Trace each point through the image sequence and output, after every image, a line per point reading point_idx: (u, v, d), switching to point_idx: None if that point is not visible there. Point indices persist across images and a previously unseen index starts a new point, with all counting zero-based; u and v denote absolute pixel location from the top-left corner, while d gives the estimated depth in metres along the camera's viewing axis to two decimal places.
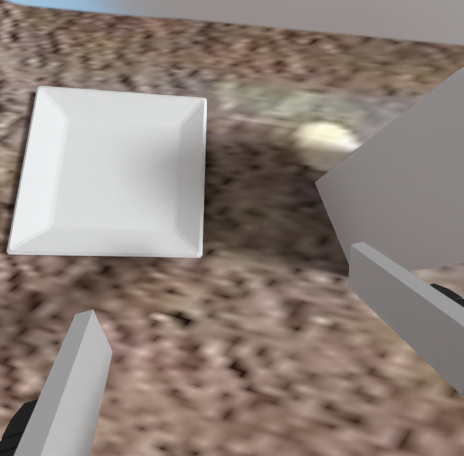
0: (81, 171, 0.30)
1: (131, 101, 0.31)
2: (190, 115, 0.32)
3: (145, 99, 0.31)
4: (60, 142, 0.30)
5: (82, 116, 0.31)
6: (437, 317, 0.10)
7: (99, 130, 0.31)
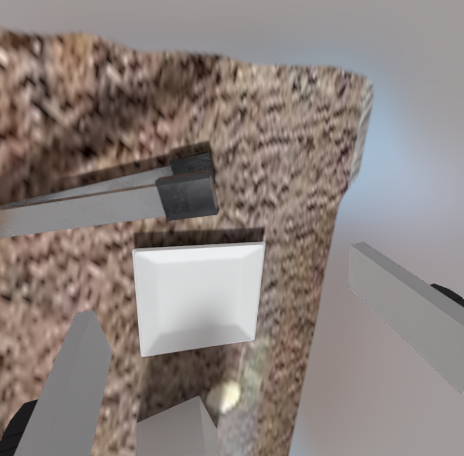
0: (201, 273, 0.41)
1: (252, 298, 0.44)
2: (243, 330, 0.46)
3: (253, 307, 0.44)
4: (222, 257, 0.41)
5: (243, 266, 0.42)
6: (437, 317, 0.10)
7: (232, 278, 0.42)
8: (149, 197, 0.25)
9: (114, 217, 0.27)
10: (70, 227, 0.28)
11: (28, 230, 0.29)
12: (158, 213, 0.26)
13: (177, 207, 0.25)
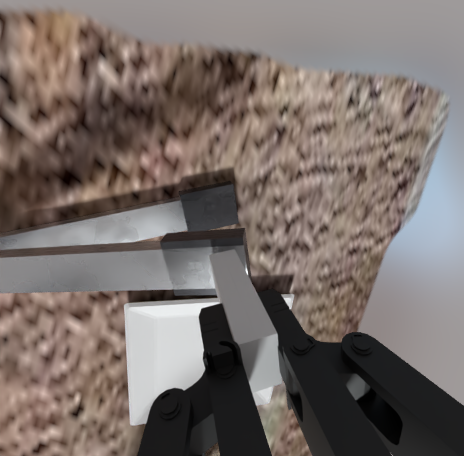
0: None
1: None
2: (256, 392, 0.38)
3: None
4: None
5: None
6: None
7: None
8: (150, 263, 0.17)
9: (97, 284, 0.18)
10: (35, 290, 0.20)
11: None
12: (162, 285, 0.18)
13: (191, 279, 0.17)
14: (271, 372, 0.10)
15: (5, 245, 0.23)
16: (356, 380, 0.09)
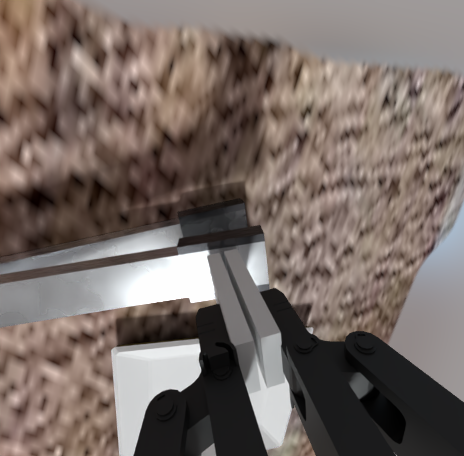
0: None
1: (285, 398, 0.30)
2: (267, 434, 0.33)
3: (286, 408, 0.31)
4: None
5: None
6: (250, 318, 0.11)
7: (259, 371, 0.29)
8: (165, 271, 0.16)
9: (101, 303, 0.17)
10: (19, 322, 0.17)
11: None
12: (177, 293, 0.17)
13: (209, 283, 0.17)
14: (274, 371, 0.10)
15: None
16: (359, 379, 0.09)
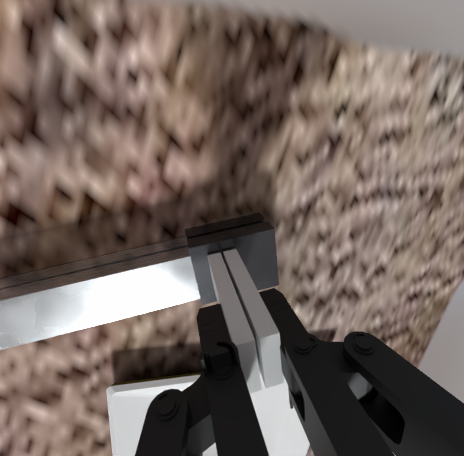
0: None
1: (303, 432, 0.27)
2: None
3: (303, 443, 0.28)
4: None
5: None
6: (249, 319, 0.11)
7: (275, 403, 0.26)
8: (176, 274, 0.15)
9: (107, 314, 0.15)
10: (10, 345, 0.15)
11: None
12: (188, 296, 0.16)
13: None
14: (273, 371, 0.10)
15: None
16: (358, 379, 0.09)
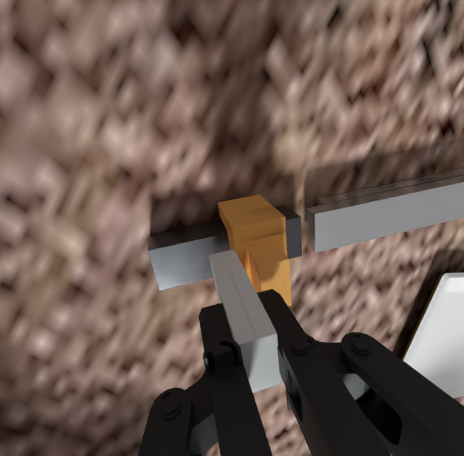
0: None
1: None
2: None
3: None
4: None
5: None
6: None
7: None
8: None
9: None
10: (441, 221, 0.21)
11: (382, 232, 0.20)
12: None
13: None
14: (270, 372, 0.10)
15: None
16: (356, 380, 0.09)
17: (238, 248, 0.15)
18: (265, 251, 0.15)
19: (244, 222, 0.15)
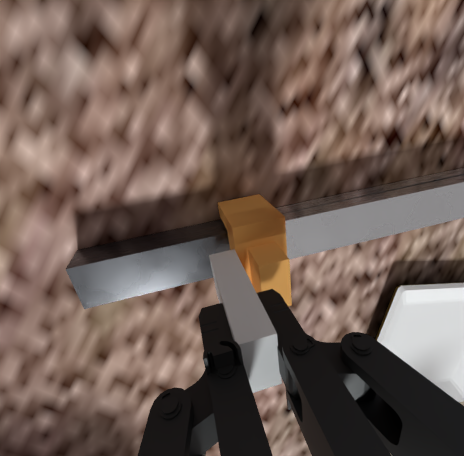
0: (444, 317, 0.29)
1: None
2: (456, 388, 0.35)
3: None
4: None
5: None
6: None
7: None
8: None
9: (449, 214, 0.21)
10: (387, 234, 0.20)
11: (324, 246, 0.19)
12: None
13: None
14: (270, 372, 0.10)
15: None
16: (355, 380, 0.09)
17: (238, 248, 0.15)
18: (265, 251, 0.15)
19: (244, 222, 0.15)
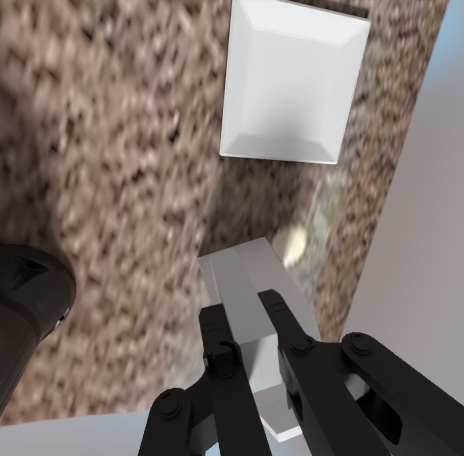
0: (295, 56, 0.36)
1: (344, 103, 0.39)
2: (325, 150, 0.42)
3: (343, 115, 0.40)
4: (321, 38, 0.36)
5: (339, 58, 0.37)
6: None
7: (325, 73, 0.38)
8: None
9: None
10: None
11: None
12: None
13: None
14: (270, 372, 0.10)
15: None
16: (356, 380, 0.09)
17: None
18: None
19: None
